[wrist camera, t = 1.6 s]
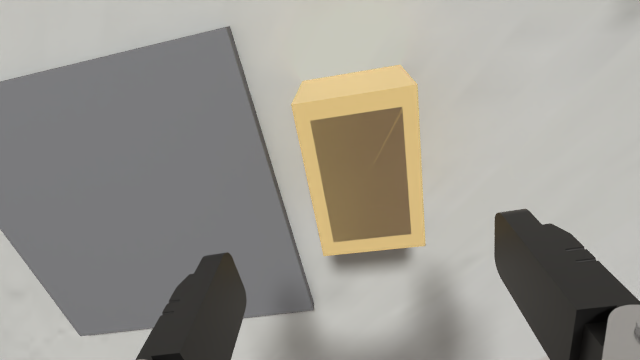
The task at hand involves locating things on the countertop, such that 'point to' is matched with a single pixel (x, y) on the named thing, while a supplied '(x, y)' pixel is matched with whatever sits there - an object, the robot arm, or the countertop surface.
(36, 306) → the countertop surface
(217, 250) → the mat
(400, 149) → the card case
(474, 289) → the countertop surface
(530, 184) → the countertop surface
